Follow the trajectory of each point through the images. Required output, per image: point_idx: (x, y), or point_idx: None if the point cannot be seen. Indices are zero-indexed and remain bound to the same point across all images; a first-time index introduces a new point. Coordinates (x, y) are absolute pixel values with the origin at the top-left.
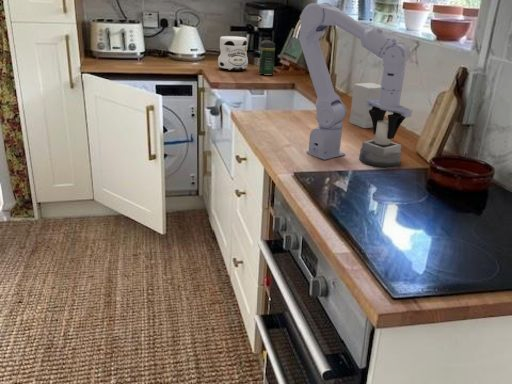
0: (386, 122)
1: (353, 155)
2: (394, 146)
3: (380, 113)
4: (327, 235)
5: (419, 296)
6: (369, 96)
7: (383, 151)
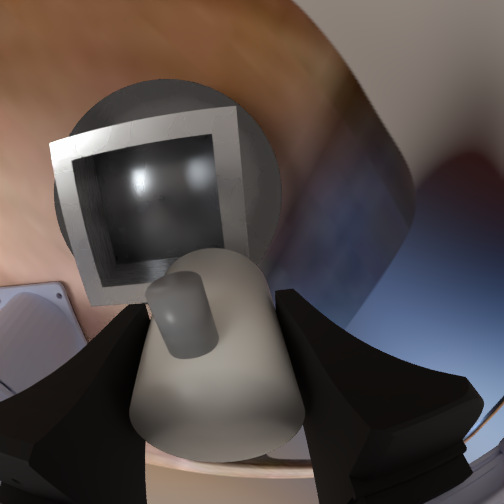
0: (231, 424)
1: (69, 251)
2: (238, 183)
3: (109, 483)
4: None
5: (479, 425)
6: None
7: None
